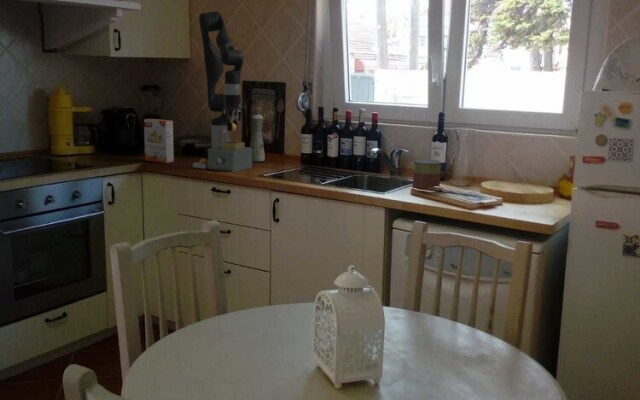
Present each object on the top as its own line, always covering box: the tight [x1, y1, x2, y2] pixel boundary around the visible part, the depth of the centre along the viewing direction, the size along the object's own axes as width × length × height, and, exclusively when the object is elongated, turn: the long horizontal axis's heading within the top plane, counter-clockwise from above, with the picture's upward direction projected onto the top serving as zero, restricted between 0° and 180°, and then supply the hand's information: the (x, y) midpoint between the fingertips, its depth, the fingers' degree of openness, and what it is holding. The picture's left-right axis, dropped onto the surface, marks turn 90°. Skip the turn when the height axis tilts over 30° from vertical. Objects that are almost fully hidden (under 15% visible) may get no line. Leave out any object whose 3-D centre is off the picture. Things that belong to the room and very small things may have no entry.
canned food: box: [411, 158, 442, 189], centre depth 275 cm, size 11×11×12 cm
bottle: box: [249, 106, 266, 163], centre depth 337 cm, size 9×9×28 cm
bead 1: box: [198, 158, 208, 164], centre depth 314 cm, size 4×4×4 cm
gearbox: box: [207, 140, 253, 174], centre depth 311 cm, size 18×14×12 cm
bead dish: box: [192, 161, 208, 170], centre depth 314 cm, size 7×7×2 cm
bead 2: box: [230, 122, 238, 132], centre depth 311 cm, size 4×4×4 cm
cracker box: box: [143, 118, 175, 164], centre depth 329 cm, size 14×6×21 cm, turn 62°
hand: (232, 130), depth 311 cm, fingers closed on bead 2, 4 cm apart
